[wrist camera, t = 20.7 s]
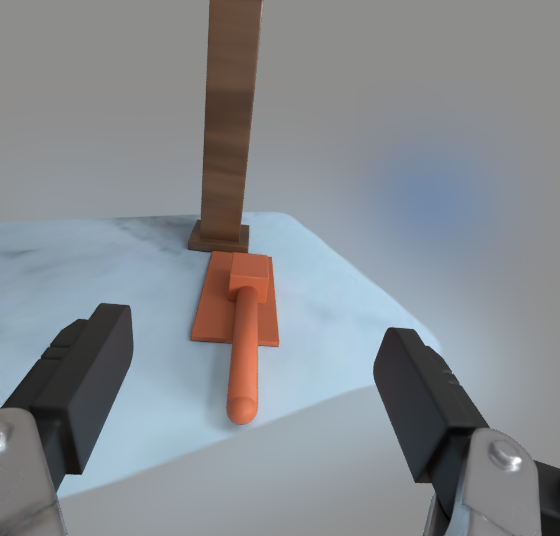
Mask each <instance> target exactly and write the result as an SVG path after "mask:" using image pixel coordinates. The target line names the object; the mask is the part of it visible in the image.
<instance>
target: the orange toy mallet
mask: <svg viewBox="0 0 560 536" xmlns="http://www.w3.org/2000/svg"><path fill="white" fill-rule="evenodd" d="M268 282H269V272H268V256H266V255H256V254H247V253H238V252H233V256H232V263H231V270H230V278H229V289H228V301H236V311H235V322H234V333H233V343H232V354H231V364H230V375H229V385H228V396H227V407H226V408H227V414H228V417H229V418H230V420H231V421H233V422H234V423H236V424H239V425H244V424H247V423H249V422H251V421H252V420H253V419H254V417H255V416H256V414H257V411H258V303H260V304H265V301H266V295H267V288H268Z"/></svg>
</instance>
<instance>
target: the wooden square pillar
mask: <svg viewBox="0 0 560 536" xmlns="http://www.w3.org/2000/svg"><path fill="white" fill-rule="evenodd" d="M263 1H264V0H210V5H209V30H208V56H207V79H206V80H207V81H206V104H205V129H204V130H205V131H204V154H203V155H204V156H203V180H202V203H201V204H202V205H201V220H197V222H196V224H195V227H194V229H193V231H192V234H191V236H190V238H189V241H188V249H189V250H198V251H207V252H212V251H220V252H229V253H233V252H238V253H247V254H248V245H249V225H241V219H242V208H243V199H244V189H245V178H246V169H247V158H248V149H249V139H250V129H251V119H252V110H253V100H254V90H255V80H256V70H257V60H258V50H259V40H260V31H261V20H262V10H263Z"/></svg>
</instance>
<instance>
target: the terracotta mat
mask: <svg viewBox="0 0 560 536" xmlns="http://www.w3.org/2000/svg"><path fill="white" fill-rule="evenodd" d="M232 256H233V253H229V252H220V251H212V255H211V259H210V263H209V267H208V271H207V275H206V279H205V282H204V286H203V290H202V294H201V298H200V302H199V306H198V310H197V313H196V317H195V321H194V325H193V329H192V333H191V340H194V341H208V342H222V343H233V333H234V322H235V311H236V301H228V289H229V278H230V270H231V263H232ZM268 272H269V282H268V288H267V295H266V301H265V304H260V303H258V345H263V346H277V347H278V346H279V335H278V323H277V312H276V300H275V289H274V277H273V266H272V257H268Z"/></svg>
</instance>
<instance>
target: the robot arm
mask: <svg viewBox="0 0 560 536" xmlns="http://www.w3.org/2000/svg"><path fill="white" fill-rule="evenodd" d="M132 356H133V332H132V318H131V309H130V306H129V305H119V304H107V303H101V304H99V306H98V307H97V308H96V310H95V311H94V313H93V314H92V315H91V317H90V318H89V320H85V319H78V320H76V321H75V322H73V323H72V324H70V325H69V326H67V327H66V328H64V329H63V330H61V331H60V333H59V334H58V335H57V336H56V338H55V339H54V340H53V342H52V343H51V344H50V347H48V348H47V349H46V351H45V352H44V353H43V354H42V356H41V359H39V360H38V361H37V362H36V363H35V365H34V366H33V367H32V369H31V370H30V371H29V372H28V374H27V375H26V376H25V377H24V379H23V380H22V381H21V383H20V384H19V385H18V386H17V388H16V389H15V390H14V392H13V393H12V394H11V395H10V397H9V398H8V399H7V401H6V402H5V403H4V404H3V406H2V407H1V408H0V536H68V533H67V530H66V527H65V523H64V519H63V516H62V512H61V508H60V505H59V501H58V497H57V494H56V493H57V490H58V488H59V486H60V484H61V482H62V480H63V478H64V476H65V474H73V475H82V473H83V471H84V468H85V466H86V464H87V462H88V459H89V457H90V455H91V453H92V450H93V448H94V446H95V444H96V441H97V439H98V437H99V435H100V432H101V430H102V428H103V425H104V423H105V421H106V419H107V416H108V414H109V412H110V410H111V407H112V405H113V403H114V401H115V398H116V396H117V394H118V391H119V389H120V387H121V385H122V382H123V380H124V378H125V376H126V373H127V371H128V369H129V366H130V364H131V360H132ZM373 375H374V380H375V383H376V386H377V388H378V391H379V393H380V396H381V398H382V401H383V403H384V406H385V408H386V411H387V413H388V416H389V418H390V421H391V424H392V426H393V428H394V431H395V434H396V436H397V439H398V441H399V444H400V446H401V449H402V451H403V454H404V456H405V458H406V461H407V464H408V466H409V469H410V471H411V474H412V476H413V479H414V481H415V483H432V485H433V487H434V489H435V493H434V495H433V496H432V499H431V503H430V507H429V512H428V516H427V520H426V525H425V528H424V532H423V536H560V469H559V468H556V467H553V466H550V465H547V464H544V463H541V462H538V461H535V460H533V459H532V457H531V456H530V454H529V453H528V452H527V451H526V450H525V449H524V448H523V447H522V446H521V445H520V444H519V443H518V442H517V441H515V440H514V439H513V438H511V437H510V436H508V435H506V434H504V433H502V432H500V431H498V430H495V429H491V428H490V427H489V426H488V424H487V423H486V421H485V420H484V418H483V417H482V415H481V414H480V412H479V411H478V409H477V408H476V406H475V405H474V404H473V402H472V401H471V399H470V398H469V396H468V395H467V393H466V392H465V390H464V389H463V387H462V386H460V385H459V381H458V380H457V378H456V377H455V375H454V374H452V371H451V370H450V368H449V367H448V365H447V364H446V362H445V361H444V359H443V358H442V357H441V356H440V355H439V354H437V353H436V352H435V351H434V350H433V349H432V348H431V347H429V346H425V345H424V343H423V342H422V340H421V338H420V337H419V335H418V334H417V332H416V331H415V330H413V329H405V328H393V327H390V328H388V329H387V331H386V333H385V335H384V338H383V341H382V343H381V346H380V349H379V351H378V354H377V357H376V359H375V362H374V367H373Z"/></svg>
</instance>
